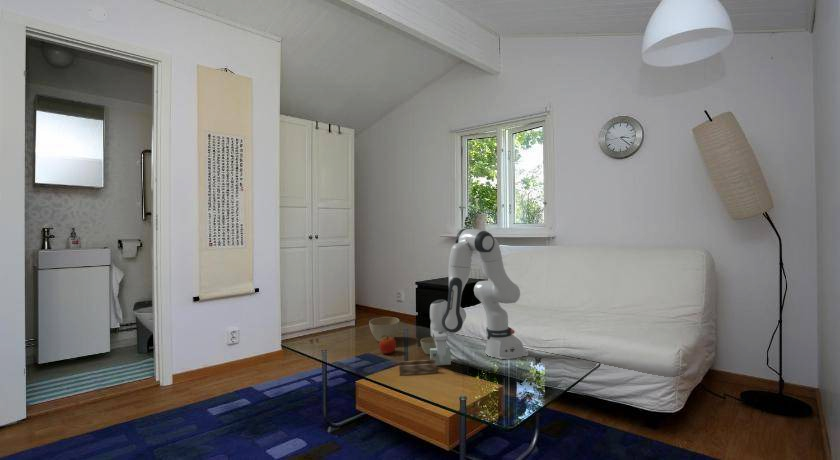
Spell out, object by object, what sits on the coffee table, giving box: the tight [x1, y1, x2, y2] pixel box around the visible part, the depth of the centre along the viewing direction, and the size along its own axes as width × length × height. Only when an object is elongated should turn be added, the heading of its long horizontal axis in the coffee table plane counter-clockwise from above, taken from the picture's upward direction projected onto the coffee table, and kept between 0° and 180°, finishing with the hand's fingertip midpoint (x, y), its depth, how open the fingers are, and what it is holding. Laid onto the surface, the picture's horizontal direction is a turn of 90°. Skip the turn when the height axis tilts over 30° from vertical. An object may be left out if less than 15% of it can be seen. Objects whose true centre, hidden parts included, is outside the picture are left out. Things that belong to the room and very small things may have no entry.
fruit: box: [378, 335, 397, 355], centre depth 245 cm, size 10×10×10 cm
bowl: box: [420, 337, 436, 356], centre depth 242 cm, size 10×10×7 cm
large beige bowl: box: [368, 316, 400, 343], centre depth 266 cm, size 18×18×12 cm
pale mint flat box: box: [429, 346, 452, 366], centre depth 225 cm, size 10×3×8 cm, turn 93°
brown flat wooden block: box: [398, 359, 438, 376], centre depth 218 cm, size 18×8×4 cm, turn 93°
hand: (440, 358), depth 225 cm, fingers open, 8 cm apart
